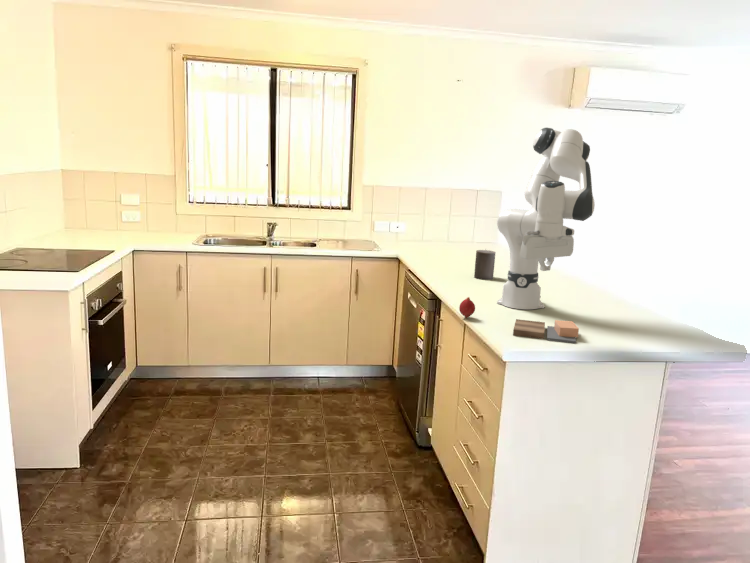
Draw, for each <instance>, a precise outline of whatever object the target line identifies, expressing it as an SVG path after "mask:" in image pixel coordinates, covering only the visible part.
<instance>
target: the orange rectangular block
mask: <svg viewBox="0 0 750 563" xmlns="http://www.w3.org/2000/svg"><path fill="white" fill-rule="evenodd" d="M553 327H554V329H555V331H556V332H557V333H558V335H559V336H565V337H575V338H579V330H580V328H579V327H578V326H577V325H576V323H574V321H571V320H559V319H558V320H557V319H555V320H554V325H553Z"/></svg>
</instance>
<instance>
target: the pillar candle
mask: <svg viewBox="0 0 750 563" xmlns="http://www.w3.org/2000/svg"><path fill="white" fill-rule="evenodd" d="M495 260H496V251H493V250H490V249H489V250H488V249H478V250H476V253H475V261H474V262H475V264H474V273H473V274H474V276H473V278H476V279H478V280H485V281H486V280H487V281H489V280H493V279H494V273H495V262H496V261H495Z"/></svg>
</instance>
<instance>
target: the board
mask: <svg viewBox="0 0 750 563" xmlns="http://www.w3.org/2000/svg"><path fill="white" fill-rule="evenodd" d="M545 325H546V322H544V321H534V320H525V319H520V318H519V319H517V318H516V319H515V322H514V326H513V329H512V330H513V331H512V335H513V336H516V337H522V338H523V337H524V338H532V339H540V340H544V339H545V330H546V329H545Z"/></svg>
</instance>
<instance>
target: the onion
mask: <svg viewBox="0 0 750 563" xmlns="http://www.w3.org/2000/svg"><path fill="white" fill-rule="evenodd" d="M458 308H459V312H460V314H461V315H462V316H464V317H465V319H466V318H467V319H468V318H470V317H471V316H472V315H473V314H474V313H475V311H476V305H475V303H474V302H473V301H472V300H471V298H470V296H468V297H466V298H465V299H464V300H462V301H461V302H460V304H459V307H458Z"/></svg>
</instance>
